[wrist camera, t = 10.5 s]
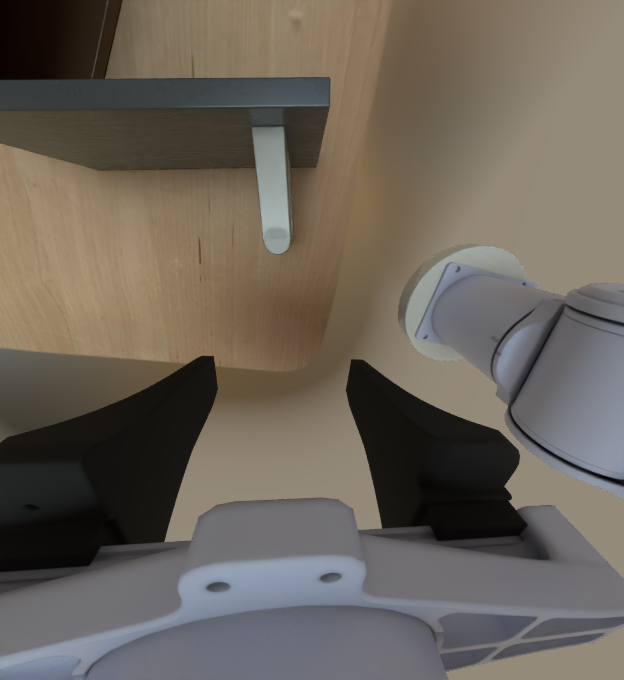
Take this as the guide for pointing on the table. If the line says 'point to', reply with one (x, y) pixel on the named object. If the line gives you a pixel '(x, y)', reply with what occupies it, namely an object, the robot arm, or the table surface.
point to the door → (177, 129)
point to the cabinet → (56, 38)
